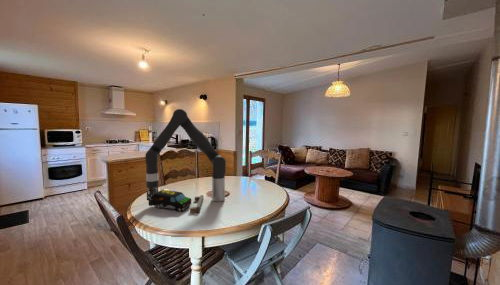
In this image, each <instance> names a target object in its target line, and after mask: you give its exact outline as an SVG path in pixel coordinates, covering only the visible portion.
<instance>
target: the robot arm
mask: <svg viewBox="0 0 500 285" xmlns="http://www.w3.org/2000/svg"><path fill="white" fill-rule="evenodd" d="M179 127H180V128H182V129H183V130H184V131H185V133H186V134H187V136H188V137H189V139H190V140H191V141H192V143H193V144H194V145H195V146H196V147H197V148H198V149H199V150H200V151H201V152H202V153H203V154H204V155H205V156H206V157H207V158H208V160H209V161H210V163H211V164H212V174H211V176H212V177H211V182H212V183H211V186H212V188H211V189H212V190H211V192H212V193H211V194H212V195H211V200H212V201H213V202H215V203H217V202H219V203H221V202H225V201H226V200H225V199H226V194H225V193H226V182H225V180H226V167H227V166H226V158H224V157H223V156H221V154H220V153H218V152H217V151H216V150H215V149H214V147H213V145H212V144H211V142H210V141H209V139H208V137H207V136H205V134H204V133H203V131H202V130H200V129H199V128H198V127H197V126H196V125H195V123H193V122H192V120H191V119H190V118H189V116H188V113H187V112H186V110H184V109H182V108H178V109H176V110H174V112H172V116H171V118H170V121H169V122H168V123H167V125H166V126H165V128H164V129H163V130H162V131H161V132H160V133H159V134H158V136H157V138H156V139H155V141H154V142H153V144H152V145H151V147H149V149H147V151H146V153H145V154H144V155H145V156H144V158H145V165H146V167H145V168H146V170H145V172H146V175H145V181H146V182H145V183H146V184H145V185H146V188H147V189H148V191H147V190H146V201H148V206H149V207H150V206H151V207H152V205H153V197H154V194H155V193H157V192H159V186H160V182H159V165H158V157H159V155H160V153H161V152H162V150H164V148H165V147H166V145H167V144H168V143H169V141H170V140H171V139H172V137H173V135H174V134H175V132H176V131H177V130H178V129H179Z"/></svg>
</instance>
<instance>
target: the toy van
mask: <svg viewBox="0 0 500 285" xmlns="http://www.w3.org/2000/svg"><path fill="white" fill-rule="evenodd" d="M191 205H192V198H191V197H187V196H185V194H184V193H183V192H182V191H176V190H167V189H161V190H158V192H157V193H155V194H154V197H153V205H152V206H154V207H155V208H156V209H157V210H161V209H162V208H166V209H172V210H176V212H178V213H183V211H184V210H186V209H187V208H189V207H191ZM152 206H151V207H152Z"/></svg>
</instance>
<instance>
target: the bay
mask: <svg viewBox="0 0 500 285" xmlns="http://www.w3.org/2000/svg"><path fill="white" fill-rule="evenodd" d="M195 201H198V202H197V204H196V206H193V207H192V206H189V207H190V208H189V213H190V214H200V213H201V209H202V205H203V203H204V195H203V194H201V195H200V196H194V202H195Z"/></svg>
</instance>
